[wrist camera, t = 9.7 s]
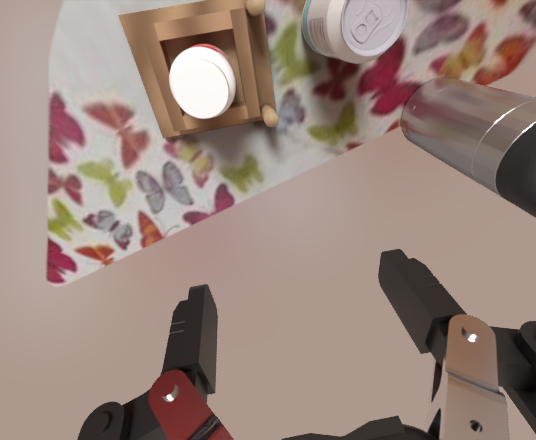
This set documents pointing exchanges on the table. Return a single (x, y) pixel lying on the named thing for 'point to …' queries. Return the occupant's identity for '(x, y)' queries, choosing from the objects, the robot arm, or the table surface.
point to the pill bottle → (203, 81)
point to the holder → (204, 32)
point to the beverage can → (353, 27)
